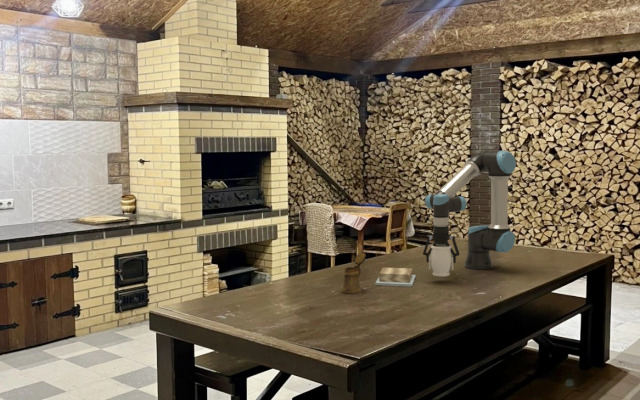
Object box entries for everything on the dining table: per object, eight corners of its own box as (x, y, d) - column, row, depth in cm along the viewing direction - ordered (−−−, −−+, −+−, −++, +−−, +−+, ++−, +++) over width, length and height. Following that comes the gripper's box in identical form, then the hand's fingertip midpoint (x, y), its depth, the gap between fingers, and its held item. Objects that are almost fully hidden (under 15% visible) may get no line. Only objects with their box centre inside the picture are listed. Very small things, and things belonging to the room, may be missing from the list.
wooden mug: (371, 289, 320) (371, 252, 318) (352, 294, 310) (352, 256, 308) (357, 286, 326) (357, 250, 324) (338, 291, 316) (338, 254, 315)
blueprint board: (415, 277, 346) (415, 274, 346) (412, 286, 325) (412, 284, 325) (381, 275, 350) (381, 273, 350) (375, 285, 329) (375, 282, 329)
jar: (450, 272, 339) (450, 243, 338) (452, 277, 329) (452, 247, 327) (429, 272, 340) (429, 243, 339) (431, 277, 330) (431, 247, 328)
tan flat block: (412, 276, 343) (412, 268, 343) (409, 282, 329) (409, 274, 328) (383, 275, 346) (383, 267, 346) (379, 281, 332) (379, 273, 331)
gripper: (464, 224, 333) (464, 268, 335) (418, 224, 338) (418, 266, 341) (464, 226, 326) (464, 271, 328) (417, 226, 331) (417, 270, 333)
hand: (441, 269), depth 334 cm, fingers closed on jar, 10 cm apart
